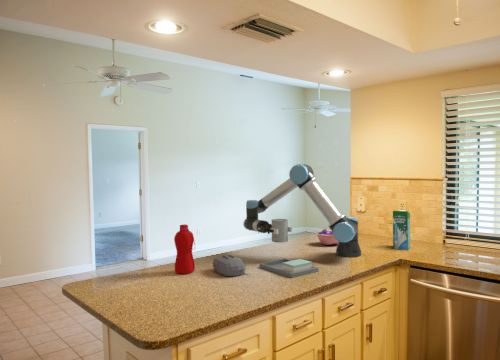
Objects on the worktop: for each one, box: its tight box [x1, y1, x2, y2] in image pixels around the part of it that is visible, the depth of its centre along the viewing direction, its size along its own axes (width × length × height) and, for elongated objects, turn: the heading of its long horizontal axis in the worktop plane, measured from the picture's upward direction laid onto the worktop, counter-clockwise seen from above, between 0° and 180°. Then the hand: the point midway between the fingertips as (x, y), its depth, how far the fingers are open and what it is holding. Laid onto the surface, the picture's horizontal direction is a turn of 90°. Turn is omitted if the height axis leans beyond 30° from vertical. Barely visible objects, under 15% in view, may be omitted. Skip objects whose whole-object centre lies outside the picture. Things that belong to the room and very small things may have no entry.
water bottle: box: [173, 224, 196, 275], centre depth 198 cm, size 9×11×25 cm
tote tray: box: [258, 258, 319, 279], centre depth 197 cm, size 26×18×3 cm
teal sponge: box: [282, 258, 313, 273], centre depth 191 cm, size 8×12×5 cm
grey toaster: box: [212, 254, 246, 277], centre depth 197 cm, size 15×8×20 cm
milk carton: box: [392, 209, 411, 251], centre depth 249 cm, size 9×9×25 cm
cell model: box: [315, 228, 339, 246], centre depth 264 cm, size 17×20×11 cm
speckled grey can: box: [271, 218, 289, 244], centre depth 220 cm, size 10×10×12 cm
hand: (284, 230), depth 217 cm, fingers closed on speckled grey can, 9 cm apart
